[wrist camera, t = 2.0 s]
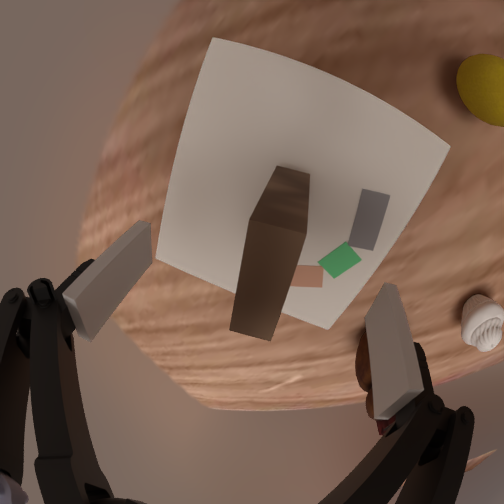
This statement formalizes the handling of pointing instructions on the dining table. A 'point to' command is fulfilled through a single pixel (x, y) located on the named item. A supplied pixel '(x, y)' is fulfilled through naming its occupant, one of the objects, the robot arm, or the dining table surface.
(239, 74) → the dial board
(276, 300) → the dark wooden block
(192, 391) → the dining table surface
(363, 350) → the wooden figurine
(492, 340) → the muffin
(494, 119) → the lemon
